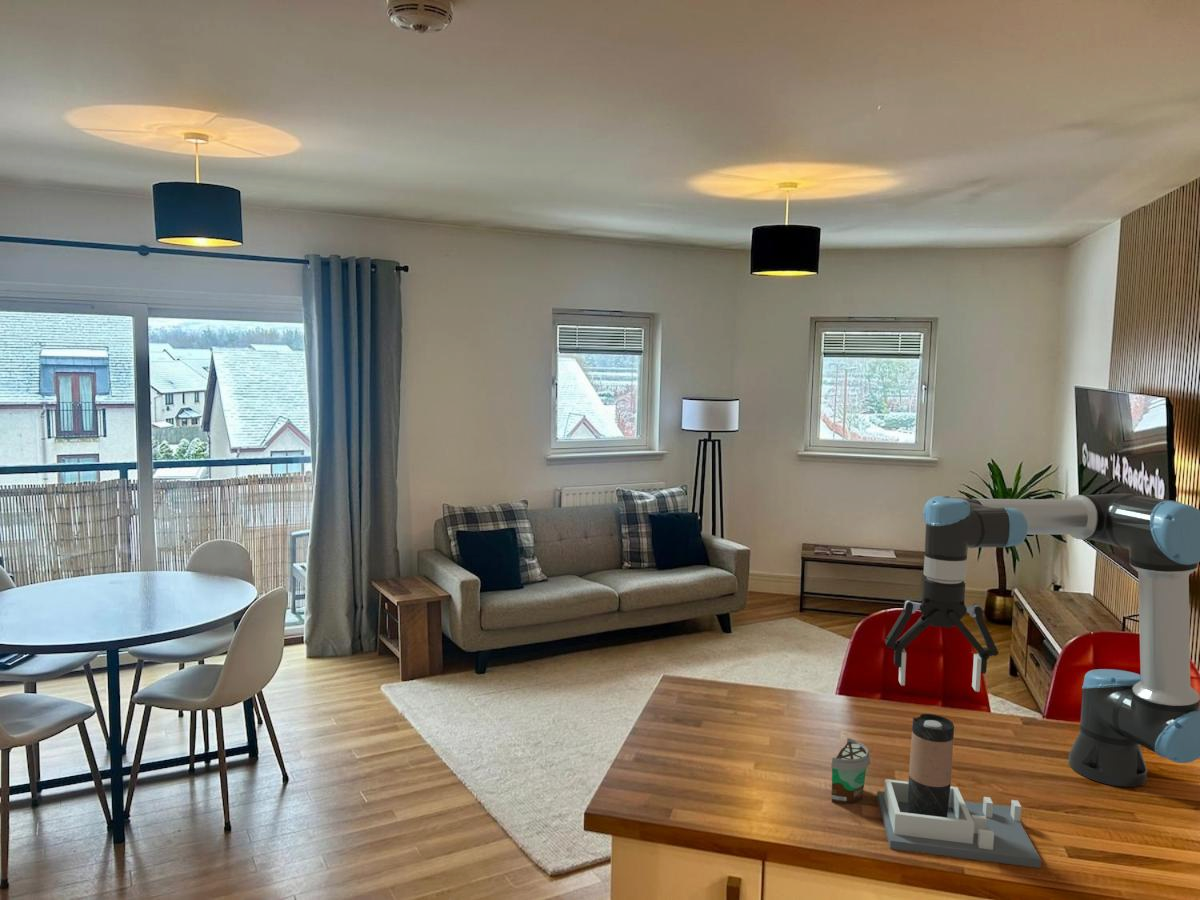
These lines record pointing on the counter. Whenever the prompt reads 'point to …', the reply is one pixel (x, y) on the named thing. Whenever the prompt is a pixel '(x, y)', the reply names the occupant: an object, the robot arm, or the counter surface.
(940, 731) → the travel mug
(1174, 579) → the robot arm
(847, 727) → the counter surface
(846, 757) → the food container
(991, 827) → the grey fixture board
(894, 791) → the end holder
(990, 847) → the clips
